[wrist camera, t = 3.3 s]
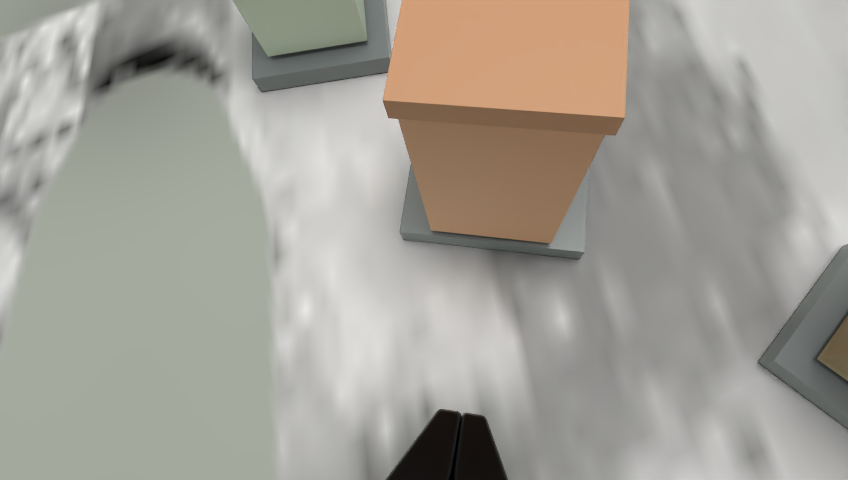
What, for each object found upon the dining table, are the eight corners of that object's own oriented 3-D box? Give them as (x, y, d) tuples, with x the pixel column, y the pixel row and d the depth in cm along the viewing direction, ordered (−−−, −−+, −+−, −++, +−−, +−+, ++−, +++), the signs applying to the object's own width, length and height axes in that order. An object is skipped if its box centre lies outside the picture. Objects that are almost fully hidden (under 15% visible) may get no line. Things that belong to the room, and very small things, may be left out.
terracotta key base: (579, 259, 19) (584, 252, 18) (403, 239, 20) (399, 231, 19) (591, 61, 22) (596, 46, 21) (433, 52, 23) (431, 37, 22)
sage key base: (392, 71, 23) (389, 57, 22) (261, 91, 23) (252, 79, 22) (383, -26, 24) (379, -43, 23) (260, -5, 25) (252, -21, 24)
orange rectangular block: (555, 247, 18) (624, 117, 10) (426, 233, 19) (382, 99, 10) (563, 142, 19) (631, -58, 11) (441, 132, 20) (414, -63, 11)
